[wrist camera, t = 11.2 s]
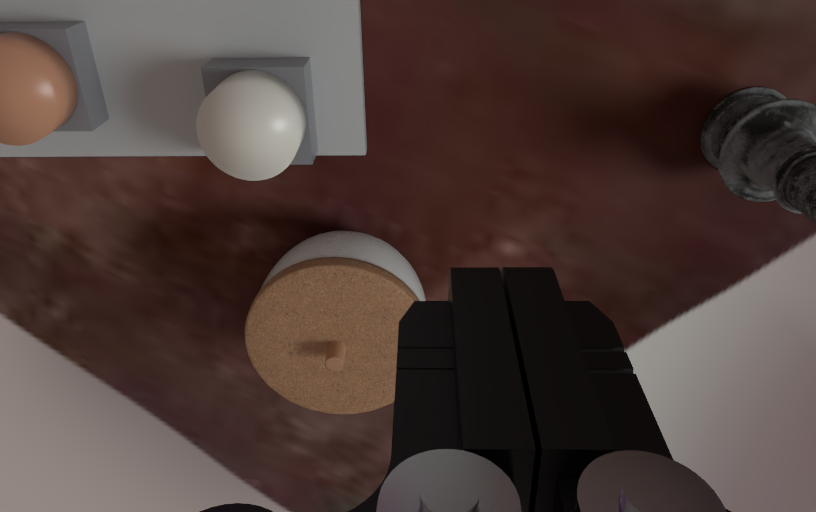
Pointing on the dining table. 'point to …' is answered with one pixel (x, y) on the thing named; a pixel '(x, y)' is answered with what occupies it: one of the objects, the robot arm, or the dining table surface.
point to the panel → (193, 69)
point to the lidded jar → (332, 322)
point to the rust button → (33, 89)
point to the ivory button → (251, 125)
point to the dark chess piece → (765, 148)
